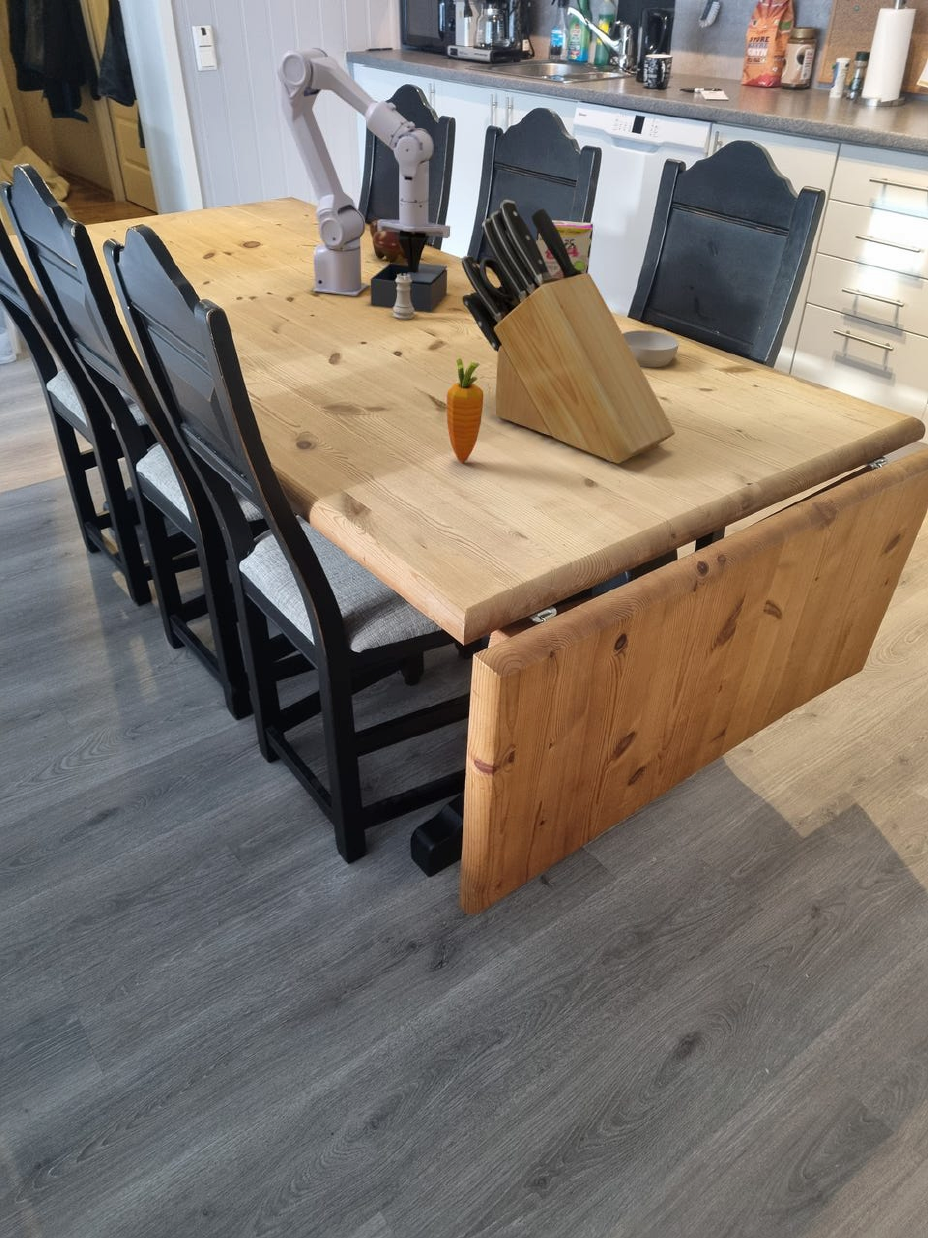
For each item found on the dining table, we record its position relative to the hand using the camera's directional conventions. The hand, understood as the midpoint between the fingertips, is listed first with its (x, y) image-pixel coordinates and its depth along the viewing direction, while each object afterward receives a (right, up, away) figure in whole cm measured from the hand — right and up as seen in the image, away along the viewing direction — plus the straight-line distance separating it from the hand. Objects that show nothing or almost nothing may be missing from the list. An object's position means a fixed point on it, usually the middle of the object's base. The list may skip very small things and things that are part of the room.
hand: (413, 271), depth 190 cm
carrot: (+10, -49, -58) cm, 77 cm away
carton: (-1, -5, +4) cm, 6 cm away
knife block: (+25, -41, -46) cm, 66 cm away
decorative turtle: (-6, +16, +26) cm, 31 cm away
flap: (+2, -1, 0) cm, 2 cm away
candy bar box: (+30, -6, +4) cm, 31 cm away
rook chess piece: (-2, -11, -5) cm, 13 cm away
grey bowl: (+40, -23, -19) cm, 50 cm away
